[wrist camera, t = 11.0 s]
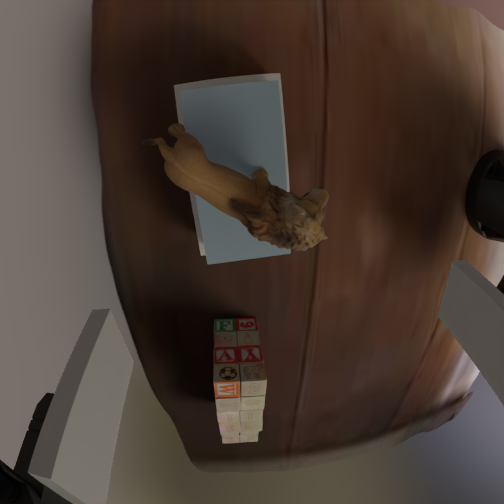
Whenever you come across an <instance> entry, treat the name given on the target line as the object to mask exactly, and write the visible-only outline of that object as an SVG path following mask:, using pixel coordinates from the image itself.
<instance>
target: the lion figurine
mask: <svg viewBox="0 0 504 504" xmlns="http://www.w3.org/2000/svg"><path fill="white" fill-rule="evenodd" d="M168 132H169V134H170V135H171V136H173V137H176V138H177V141H176V143H175V145H174V147H173V148H171V147H169V146H168V145H167V144H166V142H165V140H164V139H163V138H161V137H159V138H156V139H153V138H148V139H144V140H142V144H143V145H148V146H154V145H157V144H158V147H159V150H160V151H161V154H162V156H163V157H164V159H165V163H164V168H165V172H166V174H167V176H168V177H169V179H170V180H171V181H172V182H173V183H174V184H175V185H177V186H179V187H181V188H182V189H184V190H186V191H189V192H192V193H194V194H196V195H198V196H200V197H201V198H203V199H204V200H205V201H207V202H208V203H210V204H211V205H212V206H214V207H215V208H217V209H218V210H220V211H222V212H223V213H225V214H227V215H229V216H231V217H233V218H236V219H238V220H239V221H240V222H241V223H242V224H243V225H244V226H245V227H246V228H247V229H248V232H249V233H250V234H251V235H252V236H253V237H254V238H258V240H259V241H266V242H269V243H270V244H271V245H275V246H277V247H278V248H281V249H282V248H284V247H285V248H286V249H291V248H292V249H293V250H297V251H300V250H301V251H305V250H306V249H307V248H311V247H314V246H315V245H316V244H317V243H318V242H320V241H321V240H325V239H327V238H328V237H327V236H326V235H325V234H324V229H323V227H322V226H321V223H322V221H323V218H324V215H323V211H322V209H323V207H324V206H325V205H326V203H327V201H328V198H329V196H328V193H327V191H325V190H323V189H321V190H320V189H318V188H315V189H312V190H311V191H310V192H308V193H306V194H305V195H304V196H302V197H300V198H299V197H298V196H297V195H296V194H294V193H292V192H287V191H285V190H283V189H282V188H279V187H278V186H276V185H272V184H271V183H270V181H269V180H268V173H267V171H266V170H265V169H259V170H256V171H254V172H253V174H251V179H250V178H248V177H247V176H245V175H243V174H242V173H240V172H238V171H235V170H233V169H230V168H228V167H226V166H224V165H221V164H217V163H214V162H211V161H210V160H208V159H207V157H206V154H205V151H204V148H203V146H202V145H201V144H200V142H199V141H198V140H197V139H196V138H195V137H194V136H192V135H191V134H189V133H187V132H185V128H184V125H182V124H180V123H174V124H172V125H170V127H169V128H168Z"/></svg>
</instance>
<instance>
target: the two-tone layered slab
mask: <svg viewBox="0 0 504 504" xmlns="http://www.w3.org/2000/svg"><path fill="white" fill-rule="evenodd" d="M174 91H175V98H176V106H177V114H178V121H179V123H180V124H182V125H184V128H185V132H187V133H189V134H191V135H192V136H194V137H195V138H196V139H197V140H198V141H199V142H200V144H201V145H202V146H203V148H204V151H205V154H206V157H207V159H208V160H210V161H211V162H214V163H217V164H221V165H224V166H226V167H228V168H230V169H233V170H235V171H238V172H240V173H242V174H243V175H245V176H247V177H248V178H250V179H251V174H253V172H254V171H256V170H259V169H265V170H266V171H267V173H268V180H269V181H270V183H271V184H272V185H276V186H278V187H279V188H282V189H283V190H285V191H287V192H290V188H289V172H288V158H287V145H286V132H285V120H284V108H283V97H282V87H281V77H280V73H273V74H257V75H245V76H235V77H226V78H218V79H210V80H203V81H196V82H190V83H184V84H178V85H174ZM190 198H191V204H192V210H193V215H194V221H195V226H196V232H197V237H198V242H199V248H200V253H201V256H202V255H206V259H207V264H215V263H223V262H230V261H238V260H246V259H253V258H260V257H268V256H275V255H283V254H290V253H291V249H286V248H285V247H284V248H282V249H281V248H278V247H277V246H275V245H271V244H270V243H269V242H266V241H259V240H258V238H254V237H253V236H252V235H251V234H250V233H249V232H248V229H247V228H246V227H245V226H244V225H243V224H242V223H241V222H240V221H239V220H238V219H236V218H233V217H231V216H229V215H227V214H225V213H223V212H222V211H220V210H218V209H217V208H215V207H214V206H212V205H211V204H210V203H208V202H207V201H205V200H204V199H203V198H201V197H200V196H198V195H196V194H194V193H192V192H190Z"/></svg>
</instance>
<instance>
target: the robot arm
mask: <svg viewBox="0 0 504 504" xmlns="http://www.w3.org/2000/svg"><path fill="white" fill-rule="evenodd" d="M466 211H467V217H468V220H469V223H470V225H471V227H472V228H473V229H474V230H475V231H476V232H477V233H479V234H480V235H482V236H483V237H485V238H487V239H490V240H495V241H500V242H504V151H502V150H493V151H491V152H489V153H487V154H486V155H485V156H484V157H483V158H482V159H481V160H480V161H479V163H478V164H477V166H476V167H475V169H474V171H473V174H472V176H471V179H470V182H469V186H468V190H467V197H466ZM438 317H439V318H440V320H441V321H442V322H443V323H444V325H445V326H446V327H447V328H448V330H449V331H450V332H451V333H452V335H453V336H454V337H455V338H456V340H457V341H458V342H459V344H460V345H461V346H462V347H463V349H464V350H465V351H466V353H467V354H468V355H469V357H470V358H471V359H472V361H473V362H474V363H475V365H476V366H477V368H478V369H479V370H480V372H481V373H482V375H483V376H484V377H485V379H486V380H487V382H488V383H489V384H490V386H491V387H492V389H493V390H494V392H495V393H496V395H497V396H498V398H499V399H500V401H501V402H502V404H503V405H504V275H503V277H502V279H501V281H500V282H499V284H498V286H497V287H495V286H494V285H493V284H492V283H491V282H490V281H488V280H487V279H486V278H485V277H484V276H483V275H482V274H481V273H479V272H478V271H477V270H476V269H475V268H474V267H473V266H471V265H470V264H469V263H468V262H467V261H465V260H460V261H455V262H452V263H451V267H450V272H449V276H448V280H447V284H446V288H445V291H444V295H443V299H442V302H441V306H440V309H439V312H438ZM133 364H134V361H133V359H132V357H131V355H130V353H129V351H128V348H127V346H126V344H125V342H124V339H123V337H122V335H121V333H120V331H119V328H118V326H117V323H116V321H115V318H114V316H113V314H112V311H111V309H100V310H92V312H91V314H90V316H89V318H88V320H87V322H86V324H85V326H84V328H83V330H82V332H81V334H80V337H79V339H78V341H77V343H76V345H75V347H74V350H73V352H72V354H71V356H70V359H69V361H68V363H67V365H66V368H65V370H64V372H63V374H62V377H61V379H60V382H59V384H58V386H57V389H56V391H55V394H53V393H46V395H45V396H44V397H43V398H42V399H41V401H40V402H39V403H38V404H37V406H36V409H35V412H34V414H33V417H32V418H33V420H31V422H30V424H29V427H28V428H29V430H28V431H27V432H26V435H25V438H24V441H23V444H22V447H21V450H20V453H19V456H18V459H17V462H16V465H15V467H14V470H12V469H11V468H10V467H8V466H7V465H6V464H5V463H4V462H2V461H1V460H0V504H106V501H107V494H108V487H109V481H110V474H111V468H112V462H113V456H114V451H115V446H116V440H117V435H118V430H119V425H120V420H121V416H122V411H123V406H124V402H125V397H126V393H127V389H128V385H129V381H130V376H131V372H132V368H133Z"/></svg>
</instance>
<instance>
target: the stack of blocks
mask: <svg viewBox="0 0 504 504" xmlns="http://www.w3.org/2000/svg"><path fill="white" fill-rule="evenodd" d="M213 359H214V377H213V383H214V391H215V402H216V408H217V418H218V423H219V428H220V433H221V435H222V442H223V443H240V442H254V441H258V433H259V431H262V424H263V419H262V417H263V409H264V402H265V394H266V386H267V377H266V372H265V366H264V360H263V353H262V348H261V344H260V340H259V330H258V325H257V319H256V318H235V319H214V358H213Z"/></svg>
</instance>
